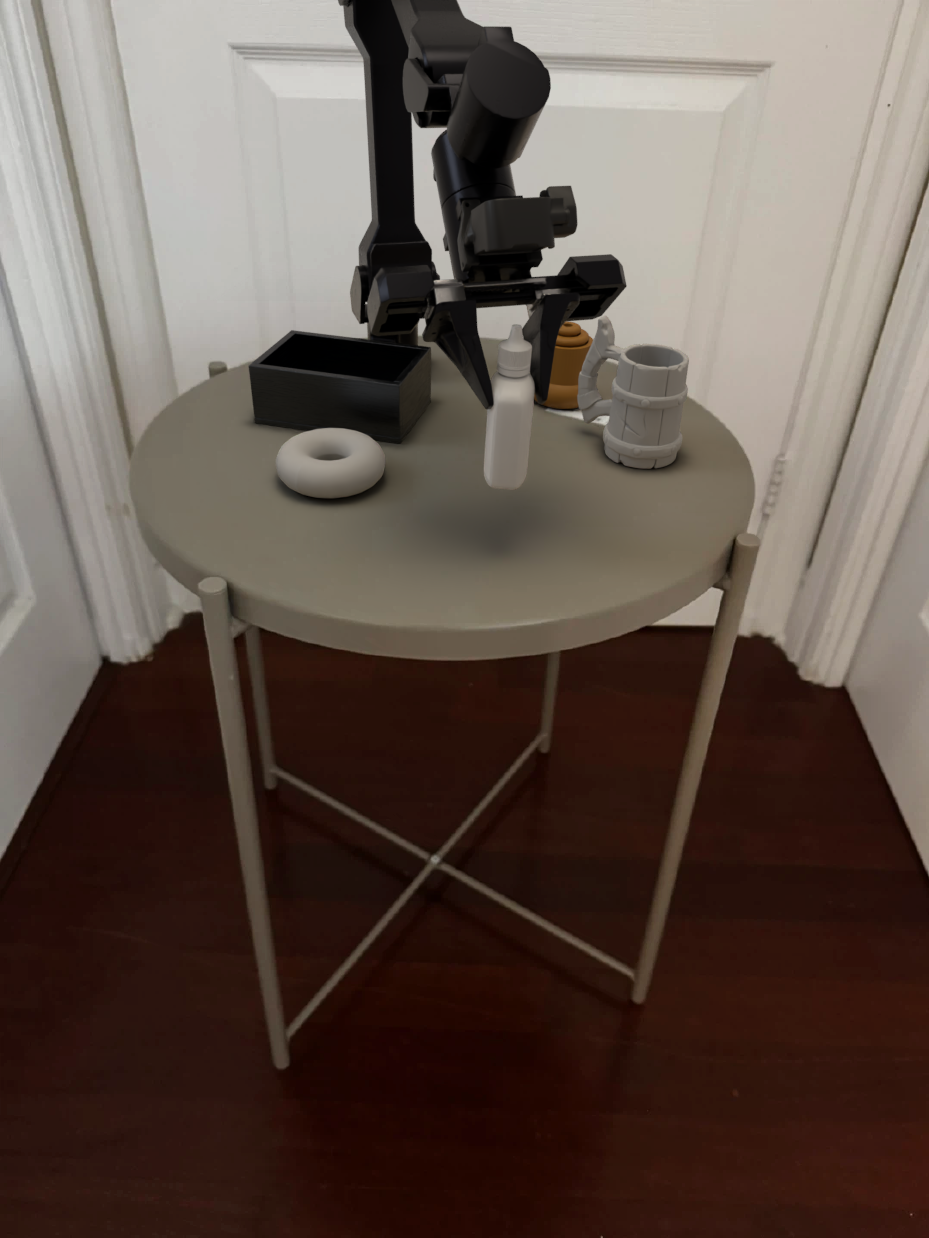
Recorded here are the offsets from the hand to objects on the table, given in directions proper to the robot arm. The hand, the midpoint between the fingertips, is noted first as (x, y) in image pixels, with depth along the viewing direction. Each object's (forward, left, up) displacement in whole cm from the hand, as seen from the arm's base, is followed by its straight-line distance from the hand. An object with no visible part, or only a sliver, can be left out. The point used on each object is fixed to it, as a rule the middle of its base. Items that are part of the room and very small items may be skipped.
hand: (516, 405), depth 69 cm
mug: (-23, +7, -13) cm, 27 cm away
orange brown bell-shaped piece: (-33, -1, -13) cm, 35 cm away
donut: (-8, -18, -13) cm, 24 cm away
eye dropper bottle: (-1, -1, -7) cm, 7 cm away
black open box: (-22, -22, -13) cm, 34 cm away
